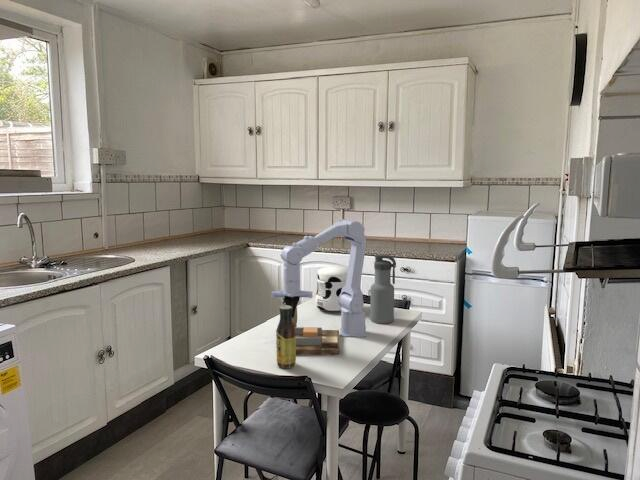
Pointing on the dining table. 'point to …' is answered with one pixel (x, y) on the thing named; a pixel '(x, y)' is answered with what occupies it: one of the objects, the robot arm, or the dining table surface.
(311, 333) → the block
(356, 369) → the dining table surface
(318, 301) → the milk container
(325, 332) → the board
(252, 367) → the dining table surface
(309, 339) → the gray rectangular frame
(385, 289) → the water bottle
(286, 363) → the sauce bottle
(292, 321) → the handle
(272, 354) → the dining table surface
